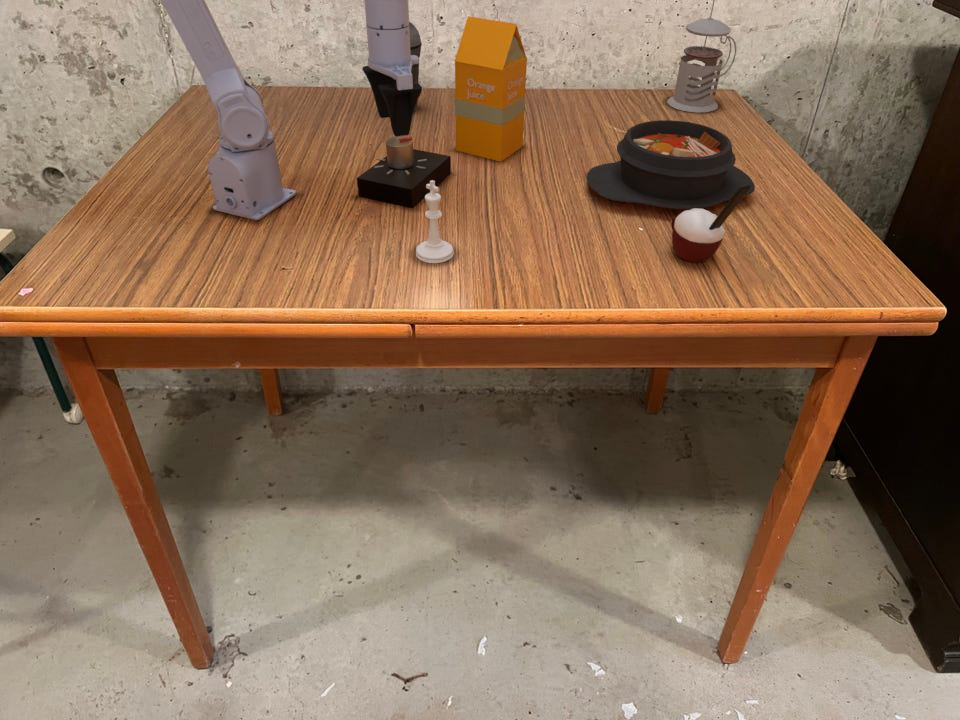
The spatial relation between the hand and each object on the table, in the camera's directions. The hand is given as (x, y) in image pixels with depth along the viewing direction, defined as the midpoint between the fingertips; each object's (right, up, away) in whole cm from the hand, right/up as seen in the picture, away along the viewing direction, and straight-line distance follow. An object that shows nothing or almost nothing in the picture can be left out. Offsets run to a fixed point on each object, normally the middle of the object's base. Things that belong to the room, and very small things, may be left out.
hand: (394, 125), depth 100 cm
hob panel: (+1, -8, +5) cm, 9 cm away
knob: (+1, -5, +3) cm, 6 cm away
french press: (+55, +16, +35) cm, 67 cm away
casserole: (+41, -9, +4) cm, 42 cm away
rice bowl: (+40, -21, -11) cm, 47 cm away
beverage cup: (-2, +13, +31) cm, 33 cm away
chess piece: (+7, -21, -11) cm, 24 cm away
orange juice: (+14, +1, +16) cm, 21 cm away
